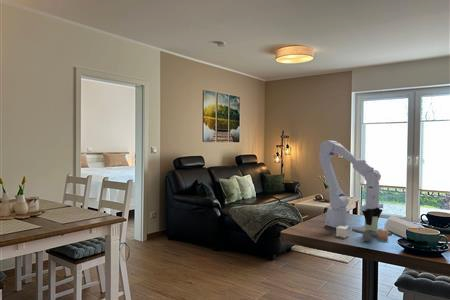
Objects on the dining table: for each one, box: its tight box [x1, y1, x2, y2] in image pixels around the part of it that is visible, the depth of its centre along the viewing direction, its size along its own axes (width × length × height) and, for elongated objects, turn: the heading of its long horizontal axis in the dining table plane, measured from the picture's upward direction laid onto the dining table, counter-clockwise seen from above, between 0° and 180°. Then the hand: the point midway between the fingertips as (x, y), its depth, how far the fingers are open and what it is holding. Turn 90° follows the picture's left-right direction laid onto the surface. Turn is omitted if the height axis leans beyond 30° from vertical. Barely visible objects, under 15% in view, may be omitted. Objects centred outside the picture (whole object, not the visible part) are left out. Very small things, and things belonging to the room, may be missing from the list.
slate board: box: [351, 225, 393, 238], centre depth 154 cm, size 14×10×1 cm
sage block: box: [364, 216, 379, 230], centre depth 154 cm, size 4×4×6 cm
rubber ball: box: [361, 233, 372, 243], centre depth 139 cm, size 4×4×4 cm
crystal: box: [383, 215, 423, 239], centre depth 150 cm, size 7×7×24 cm
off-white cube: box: [335, 226, 350, 239], centre depth 147 cm, size 4×4×4 cm
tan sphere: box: [377, 228, 389, 241], centre depth 143 cm, size 4×4×4 cm
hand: (371, 224), depth 154 cm, fingers closed on sage block, 4 cm apart
